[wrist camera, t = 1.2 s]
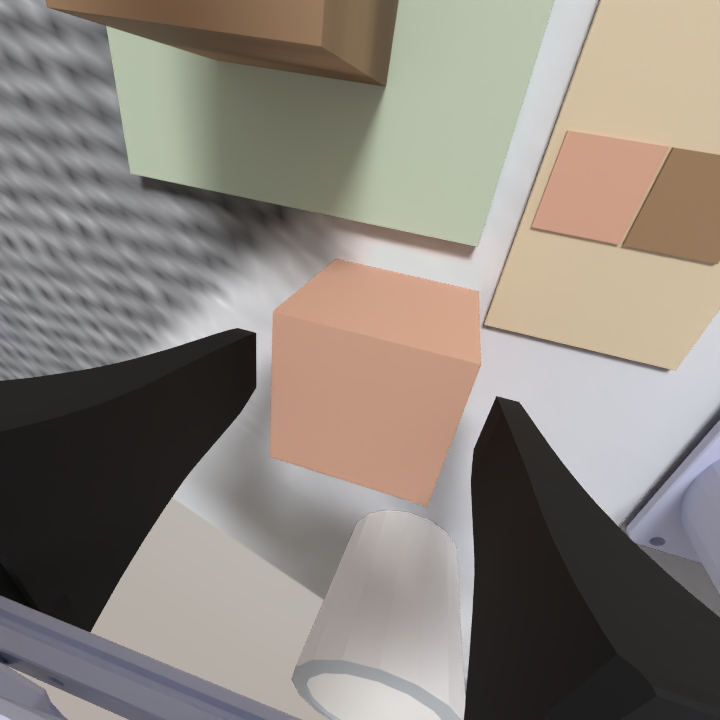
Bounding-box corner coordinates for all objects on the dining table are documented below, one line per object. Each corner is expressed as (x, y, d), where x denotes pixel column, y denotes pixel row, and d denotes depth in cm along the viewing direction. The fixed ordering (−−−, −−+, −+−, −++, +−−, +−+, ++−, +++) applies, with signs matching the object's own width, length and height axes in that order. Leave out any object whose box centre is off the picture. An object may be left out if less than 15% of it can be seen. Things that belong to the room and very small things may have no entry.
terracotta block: (478, 290, 12) (481, 364, 8) (440, 406, 15) (427, 506, 11) (336, 258, 13) (273, 311, 9) (323, 373, 16) (269, 456, 12)
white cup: (323, 504, 20) (260, 653, 14) (451, 497, 17) (439, 678, 12) (367, 583, 23) (329, 737, 17) (484, 589, 20) (487, 773, 14)
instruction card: (946, -19, 7) (965, -25, 7) (673, 367, 12) (677, 372, 12) (617, -49, 8) (622, -56, 8) (484, 322, 13) (484, 325, 13)
